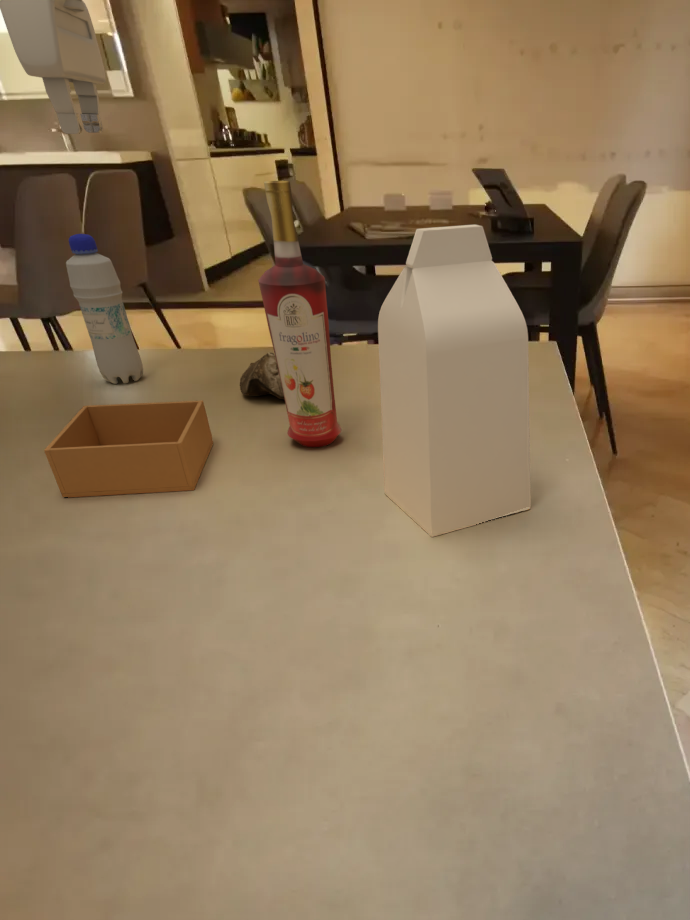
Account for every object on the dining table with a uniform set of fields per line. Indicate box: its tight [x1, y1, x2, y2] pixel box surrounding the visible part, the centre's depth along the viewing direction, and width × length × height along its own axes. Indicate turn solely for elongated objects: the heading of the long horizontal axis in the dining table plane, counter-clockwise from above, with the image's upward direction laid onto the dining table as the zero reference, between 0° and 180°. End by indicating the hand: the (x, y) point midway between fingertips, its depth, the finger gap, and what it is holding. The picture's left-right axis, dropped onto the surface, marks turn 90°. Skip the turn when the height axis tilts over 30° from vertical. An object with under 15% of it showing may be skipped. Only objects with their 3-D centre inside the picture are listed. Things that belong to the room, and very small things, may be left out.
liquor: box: [257, 180, 343, 448], centre depth 82 cm, size 7×7×28 cm
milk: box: [377, 224, 532, 538], centre depth 69 cm, size 12×12×26 cm
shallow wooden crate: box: [43, 399, 214, 498], centre depth 82 cm, size 14×14×6 cm
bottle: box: [65, 233, 144, 385], centre depth 104 cm, size 7×7×20 cm
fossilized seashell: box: [239, 351, 285, 400], centre depth 103 cm, size 8×7×10 cm
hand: (84, 133), depth 79 cm, fingers open, 8 cm apart
